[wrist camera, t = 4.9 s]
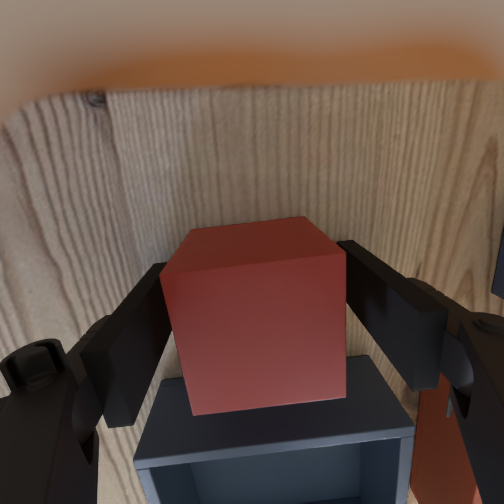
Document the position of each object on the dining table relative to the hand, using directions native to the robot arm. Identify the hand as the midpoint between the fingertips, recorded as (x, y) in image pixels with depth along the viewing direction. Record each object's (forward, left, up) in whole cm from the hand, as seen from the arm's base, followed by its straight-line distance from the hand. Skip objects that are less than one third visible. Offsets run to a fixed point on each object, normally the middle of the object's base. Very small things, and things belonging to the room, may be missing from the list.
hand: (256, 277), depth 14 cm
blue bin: (+12, 0, 0) cm, 12 cm away
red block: (0, 0, 0) cm, 0 cm away
